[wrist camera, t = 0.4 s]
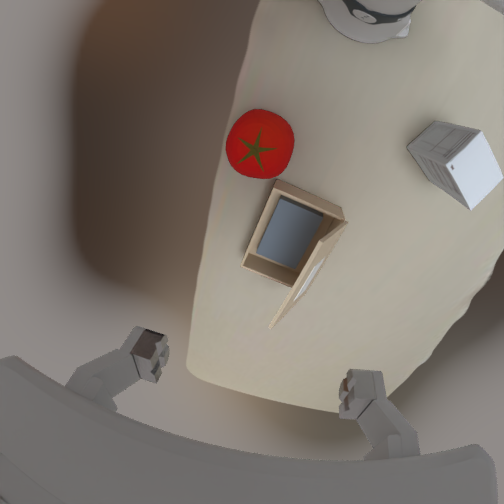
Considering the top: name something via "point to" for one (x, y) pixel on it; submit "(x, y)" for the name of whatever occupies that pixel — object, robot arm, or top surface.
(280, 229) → the box
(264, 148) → the tomato
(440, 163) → the supplement box
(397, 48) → the top surface
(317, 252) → the lid
